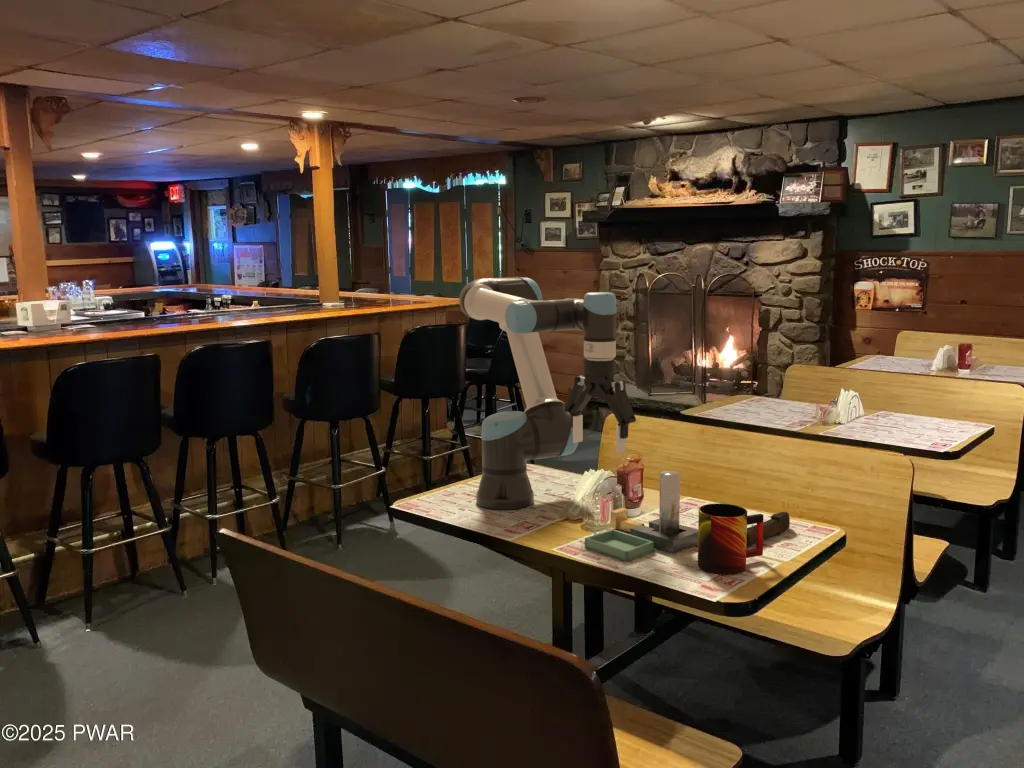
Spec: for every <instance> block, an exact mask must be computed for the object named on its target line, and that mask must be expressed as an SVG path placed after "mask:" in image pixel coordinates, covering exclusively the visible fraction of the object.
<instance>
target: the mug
mask: <svg viewBox="0 0 1024 768" xmlns="http://www.w3.org/2000/svg"><path fill="white" fill-rule="evenodd" d="M697 520H698V522H697V523H698V527H697V528H698V529H697V530H698V545H697V568H698V569H700V571H703V572H704V573H708V574H711V575H715V576H735V575H740V574H742V573H744V572H745V571H746V570H747V559H748V558H754V557H760V556H761V557H762V556H763V555H764V539H763V522H764V514H762V513H757V514H751V515H748V510H747V509H746V508H744V507H743V506H739V505H736V504H730V503H709V504H703V505H701V506H699V508H698V519H697ZM748 525H757V531H756V542H755V547H753V548H746V543H747V528H748Z"/></svg>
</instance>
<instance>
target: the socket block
mask: <svg viewBox="0 0 1024 768" xmlns="http://www.w3.org/2000/svg"><path fill="white" fill-rule="evenodd" d="M629 534H630V535H633V536H637V537H640V538H643V539H646V540H650V541H653V542H654V550H658V551H660V552H663V553H667V554H670V555H675V554H678V553H681V552H683V551H686V550H688V549H691V548H694V547H696V546H697V547H698V529H697V528H694V527H689V526H686V525H682V524H679V534H676V535H673V536H669V535H666V534H662V533H659V518H656V519H653V520H651V521H648V526H646V525H644V526H643V525H638V526H636V527H633V528H630V532H629Z"/></svg>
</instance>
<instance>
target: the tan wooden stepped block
mask: <svg viewBox="0 0 1024 768" xmlns="http://www.w3.org/2000/svg"><path fill="white" fill-rule="evenodd" d="M638 525H643V526H645V523H644V522H640V521H637V520H635V519H630V518H628V509H627V508H624V507H620V508H617V509H613V510H611V511H610V529H614V530H620V531H624V532H626V533H627V532H628V533H630V528H633V527H636V526H638Z"/></svg>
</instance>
